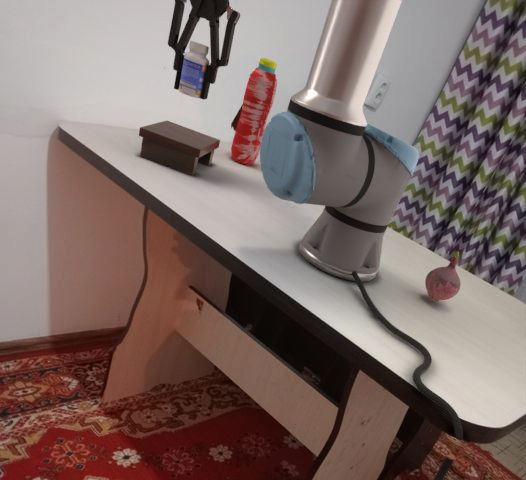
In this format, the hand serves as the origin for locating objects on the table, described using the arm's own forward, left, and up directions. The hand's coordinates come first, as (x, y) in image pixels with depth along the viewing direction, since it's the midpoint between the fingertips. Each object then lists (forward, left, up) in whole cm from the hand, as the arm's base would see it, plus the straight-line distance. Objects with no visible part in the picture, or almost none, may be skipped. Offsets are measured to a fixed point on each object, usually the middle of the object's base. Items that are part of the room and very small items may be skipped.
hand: (190, 93), depth 101 cm
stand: (0, 0, -15) cm, 15 cm away
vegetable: (-29, -61, -15) cm, 69 cm away
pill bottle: (0, 0, 0) cm, 0 cm away
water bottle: (+22, -10, -15) cm, 29 cm away
